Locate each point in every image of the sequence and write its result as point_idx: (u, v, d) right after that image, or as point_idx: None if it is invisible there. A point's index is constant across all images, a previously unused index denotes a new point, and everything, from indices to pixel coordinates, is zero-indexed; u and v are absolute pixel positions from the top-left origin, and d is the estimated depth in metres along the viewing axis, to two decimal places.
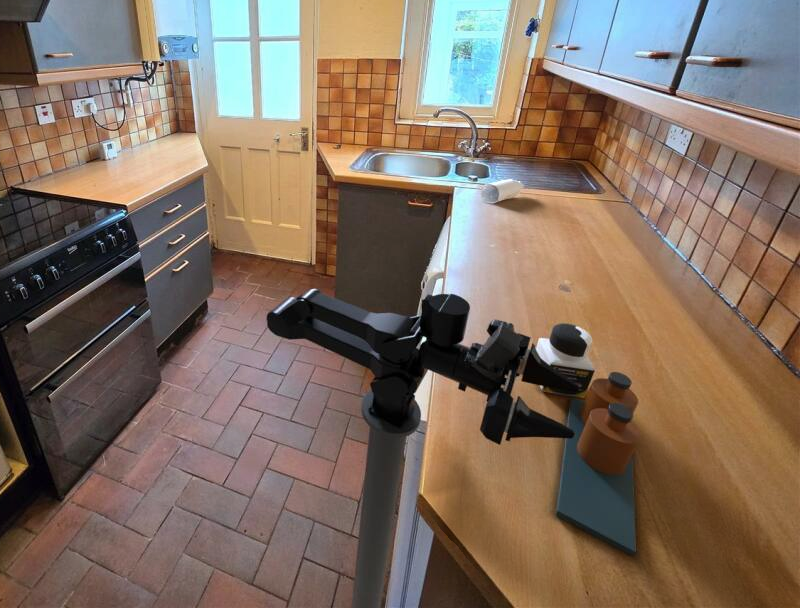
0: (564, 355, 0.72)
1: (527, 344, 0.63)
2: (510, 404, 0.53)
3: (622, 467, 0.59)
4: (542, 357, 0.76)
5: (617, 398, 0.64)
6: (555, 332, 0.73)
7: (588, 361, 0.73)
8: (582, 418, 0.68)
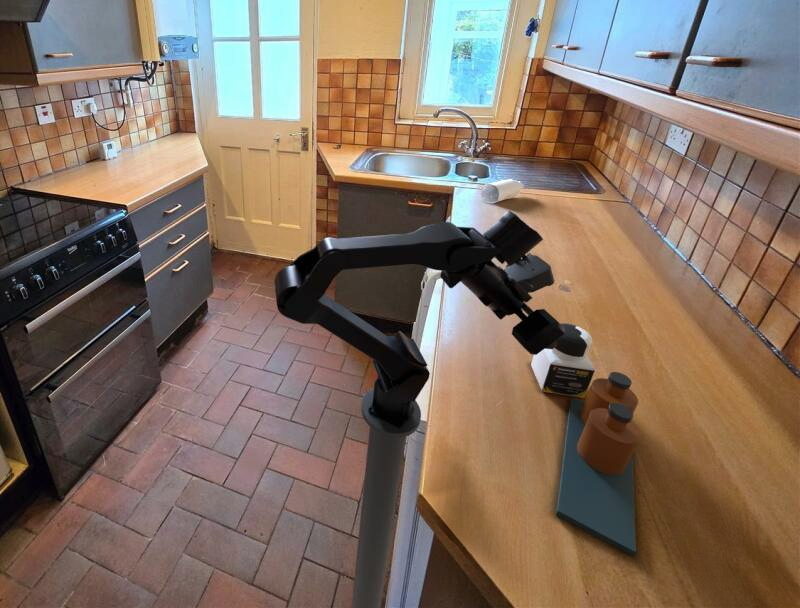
0: (564, 355, 0.72)
1: None
2: None
3: (622, 467, 0.59)
4: (542, 357, 0.76)
5: (617, 398, 0.64)
6: None
7: (588, 361, 0.73)
8: (582, 418, 0.68)
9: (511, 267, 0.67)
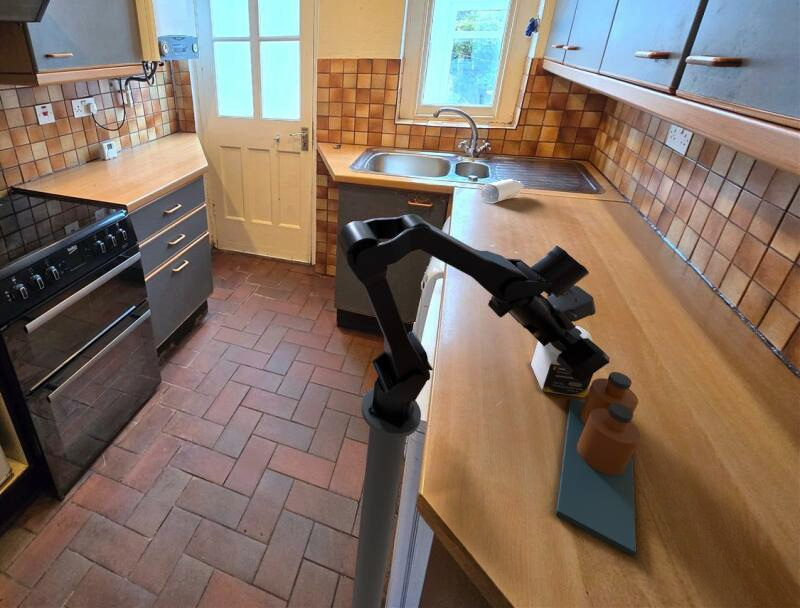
0: None
1: None
2: None
3: (622, 467, 0.59)
4: (542, 357, 0.76)
5: (617, 398, 0.64)
6: None
7: None
8: (582, 418, 0.68)
9: (554, 296, 0.71)
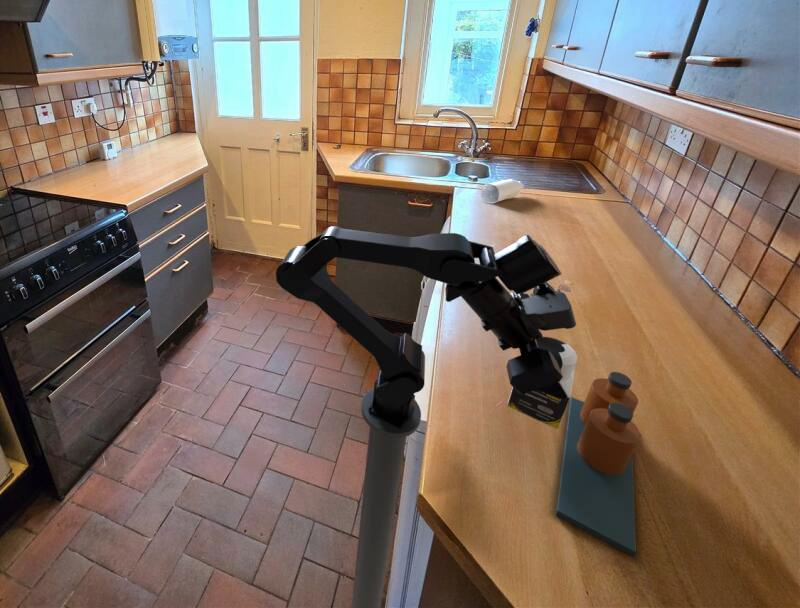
0: None
1: None
2: (559, 368, 0.54)
3: (622, 467, 0.59)
4: None
5: (617, 398, 0.64)
6: None
7: (567, 387, 0.60)
8: (582, 418, 0.68)
9: (530, 299, 0.61)
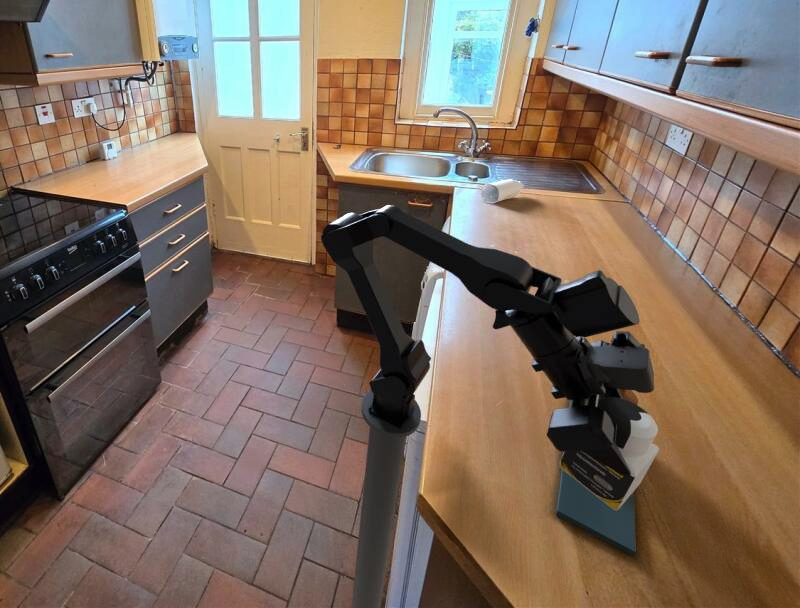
0: None
1: None
2: (612, 434, 0.45)
3: None
4: None
5: None
6: (600, 400, 0.53)
7: (636, 464, 0.49)
8: None
9: (602, 348, 0.51)
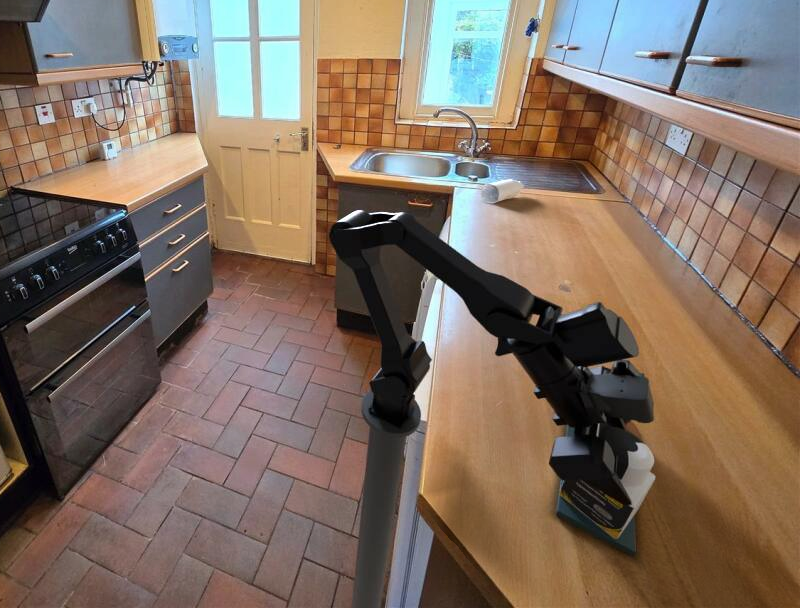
0: None
1: None
2: (613, 465, 0.46)
3: None
4: None
5: None
6: None
7: (634, 494, 0.50)
8: None
9: (602, 376, 0.52)
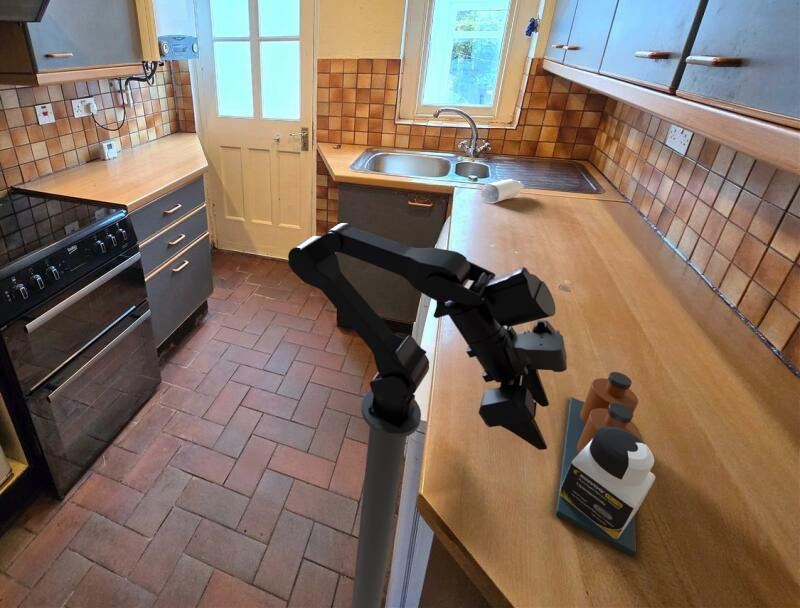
0: (595, 463, 0.53)
1: None
2: (533, 408, 0.51)
3: None
4: None
5: (617, 398, 0.64)
6: (597, 430, 0.54)
7: (634, 494, 0.50)
8: (582, 418, 0.68)
9: (525, 335, 0.58)
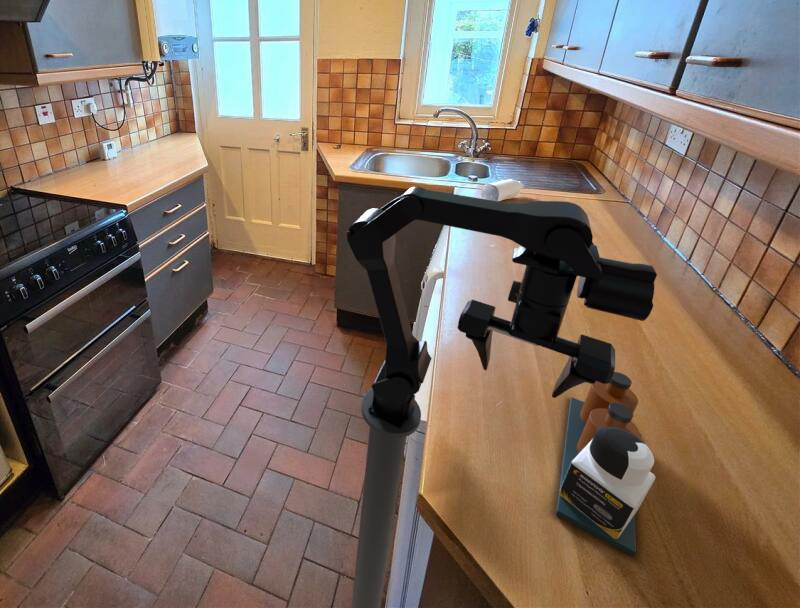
0: (595, 463, 0.53)
1: None
2: None
3: None
4: None
5: (617, 398, 0.64)
6: (597, 430, 0.54)
7: (634, 494, 0.50)
8: (582, 418, 0.68)
9: None
